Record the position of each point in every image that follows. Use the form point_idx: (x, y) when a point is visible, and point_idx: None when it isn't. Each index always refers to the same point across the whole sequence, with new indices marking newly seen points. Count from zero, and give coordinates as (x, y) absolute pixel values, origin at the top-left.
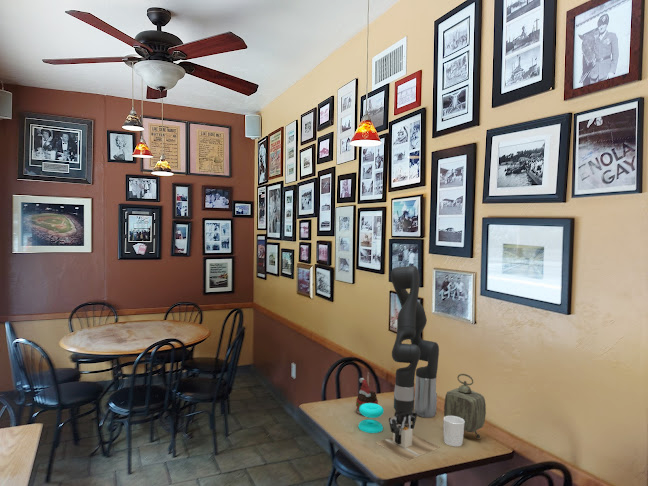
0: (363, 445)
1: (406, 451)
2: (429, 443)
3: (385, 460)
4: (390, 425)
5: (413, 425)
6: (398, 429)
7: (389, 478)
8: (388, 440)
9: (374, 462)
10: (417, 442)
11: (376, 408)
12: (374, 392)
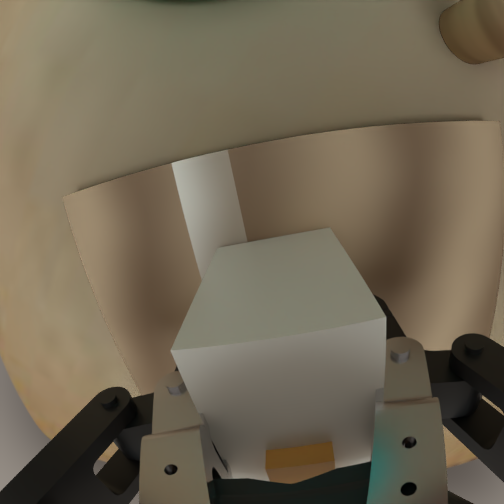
0: (15, 157)
1: None
2: None
3: (80, 376)
4: (43, 464)
5: (468, 427)
6: (210, 427)
7: None
8: (199, 194)
9: (28, 360)
10: (427, 328)
11: None
12: None
